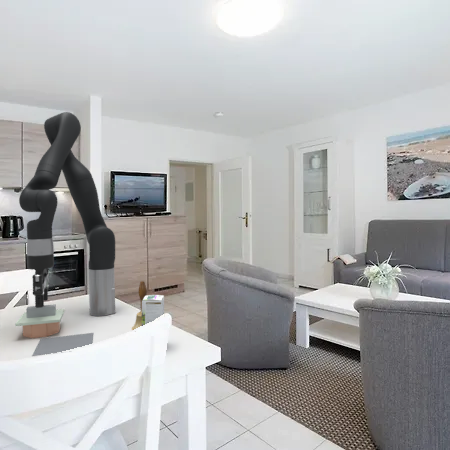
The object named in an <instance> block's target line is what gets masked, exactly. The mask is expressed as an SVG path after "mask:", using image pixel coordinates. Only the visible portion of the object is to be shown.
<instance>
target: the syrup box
mask: <svg viewBox="0 0 450 450" xmlns="http://www.w3.org/2000/svg"><path fill="white" fill-rule="evenodd" d="M163 314H164V315H165V295H163V294H162V295H161V294H148V295H146V296H145V297H144V299H143V300H142V326H143V325H145V324H147V323H149V322H152V321H154V320H155V319H156V318H158V317H160V316H161V315H163Z"/></svg>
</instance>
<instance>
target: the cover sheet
mask: <svg viewBox="0 0 450 450" xmlns="http://www.w3.org/2000/svg"><path fill="white" fill-rule="evenodd" d="M65 309H66V308H58V309H57V304H56V303H55V304H54V303H53V304H44V306H43V307H41V308H36V307H35V305H32V306H27V307H26V309H25V311H24V312H23V313H22V315H21V316H20V317H19V319H18V320H17V321H16V322H15V327H23V326H25V325H35V324H45V323H54V322H60V323H61V321H62V319H63V316H64V313H65V311H66V310H65Z"/></svg>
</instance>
